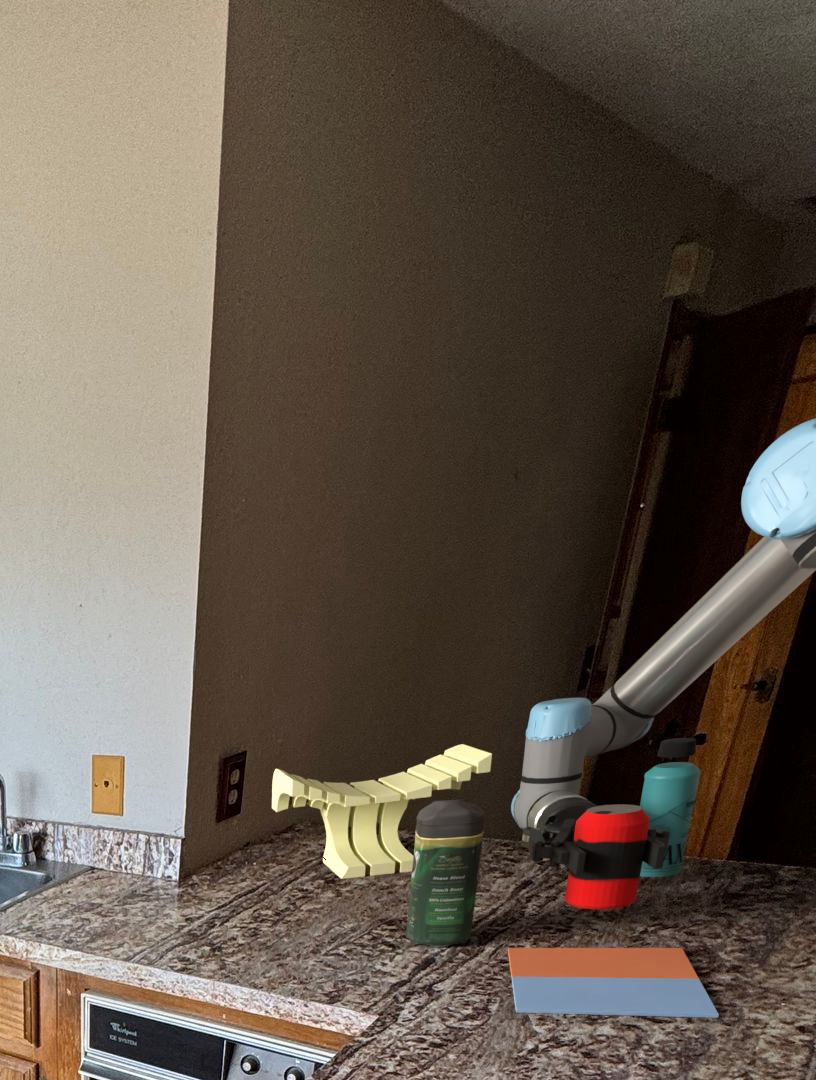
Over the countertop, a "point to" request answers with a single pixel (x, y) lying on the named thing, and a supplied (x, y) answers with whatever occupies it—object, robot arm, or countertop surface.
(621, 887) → the soda can
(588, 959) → the sorting mat
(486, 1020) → the countertop surface
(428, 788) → the slatted curved stool
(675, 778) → the teal pump bottle
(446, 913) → the coffee jar
